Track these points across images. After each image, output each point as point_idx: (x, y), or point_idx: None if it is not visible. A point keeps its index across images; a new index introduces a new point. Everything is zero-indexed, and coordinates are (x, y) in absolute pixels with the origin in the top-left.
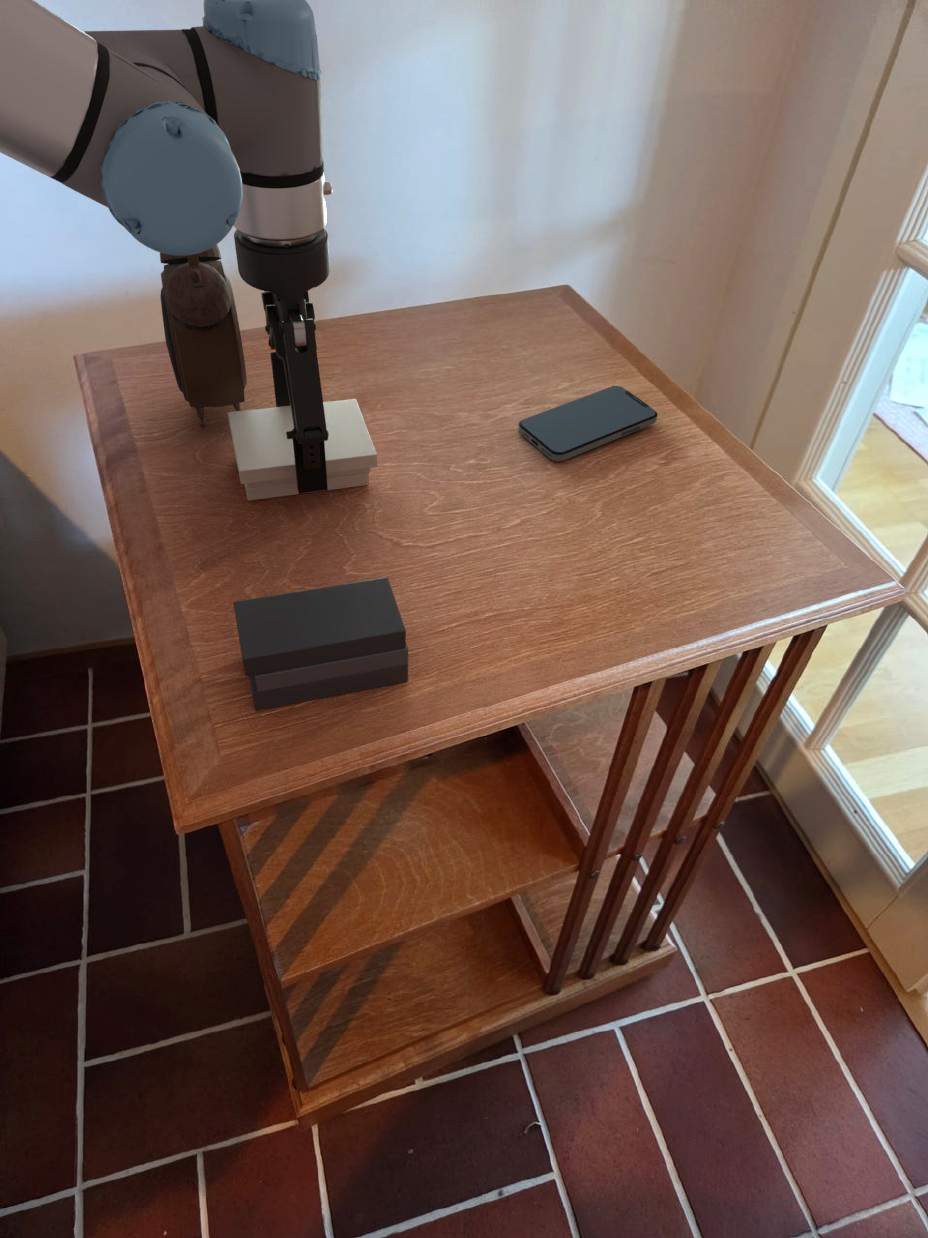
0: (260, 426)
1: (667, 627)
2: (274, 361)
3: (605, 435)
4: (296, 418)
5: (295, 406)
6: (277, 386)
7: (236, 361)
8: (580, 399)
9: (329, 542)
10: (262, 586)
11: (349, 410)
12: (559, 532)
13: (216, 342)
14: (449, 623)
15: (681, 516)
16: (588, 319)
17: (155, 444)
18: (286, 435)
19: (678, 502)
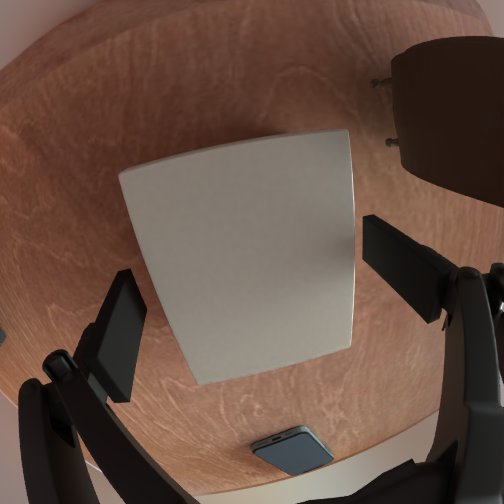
0: (288, 202)
1: (87, 455)
2: (429, 270)
3: (273, 465)
4: (20, 424)
5: (21, 447)
6: (394, 243)
7: (449, 181)
8: (323, 452)
9: (86, 288)
10: (7, 215)
11: (321, 344)
12: (158, 442)
13: (495, 148)
14: (30, 374)
15: (190, 475)
16: (420, 420)
17: (329, 13)
18: (64, 350)
19: (205, 475)
